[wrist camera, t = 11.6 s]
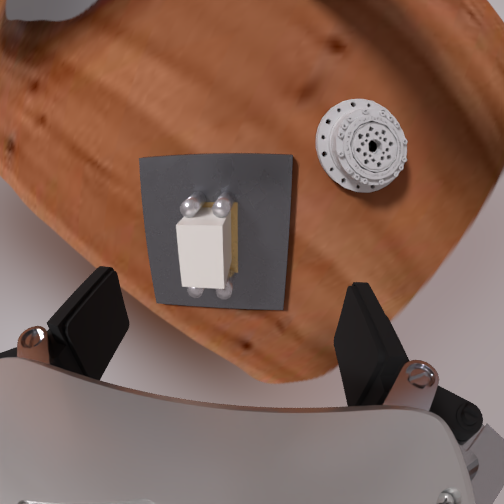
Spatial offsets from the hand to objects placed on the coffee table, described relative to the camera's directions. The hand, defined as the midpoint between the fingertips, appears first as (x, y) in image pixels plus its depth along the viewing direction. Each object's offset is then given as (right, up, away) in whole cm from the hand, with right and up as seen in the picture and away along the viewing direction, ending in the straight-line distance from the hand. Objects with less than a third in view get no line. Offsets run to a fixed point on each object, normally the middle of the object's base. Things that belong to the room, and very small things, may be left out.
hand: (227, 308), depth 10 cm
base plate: (-3, +4, +20) cm, 21 cm away
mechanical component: (+12, +14, +16) cm, 24 cm away
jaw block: (-3, +4, +19) cm, 19 cm away
